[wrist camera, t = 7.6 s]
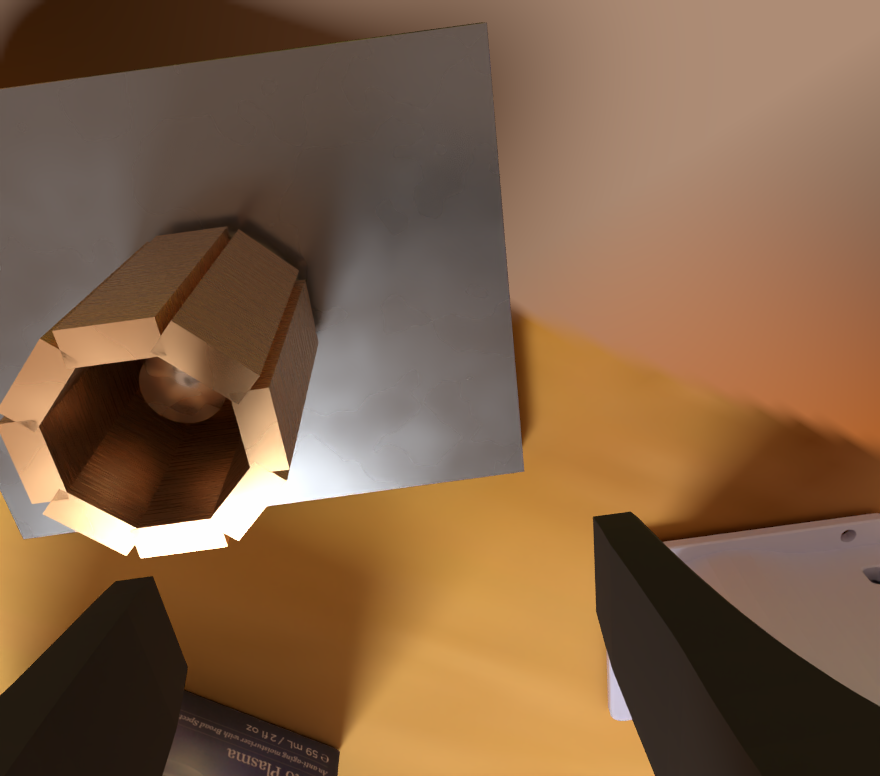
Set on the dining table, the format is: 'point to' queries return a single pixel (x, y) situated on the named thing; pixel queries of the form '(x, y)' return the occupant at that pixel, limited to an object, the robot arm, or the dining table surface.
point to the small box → (241, 745)
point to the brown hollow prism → (141, 428)
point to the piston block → (290, 239)
